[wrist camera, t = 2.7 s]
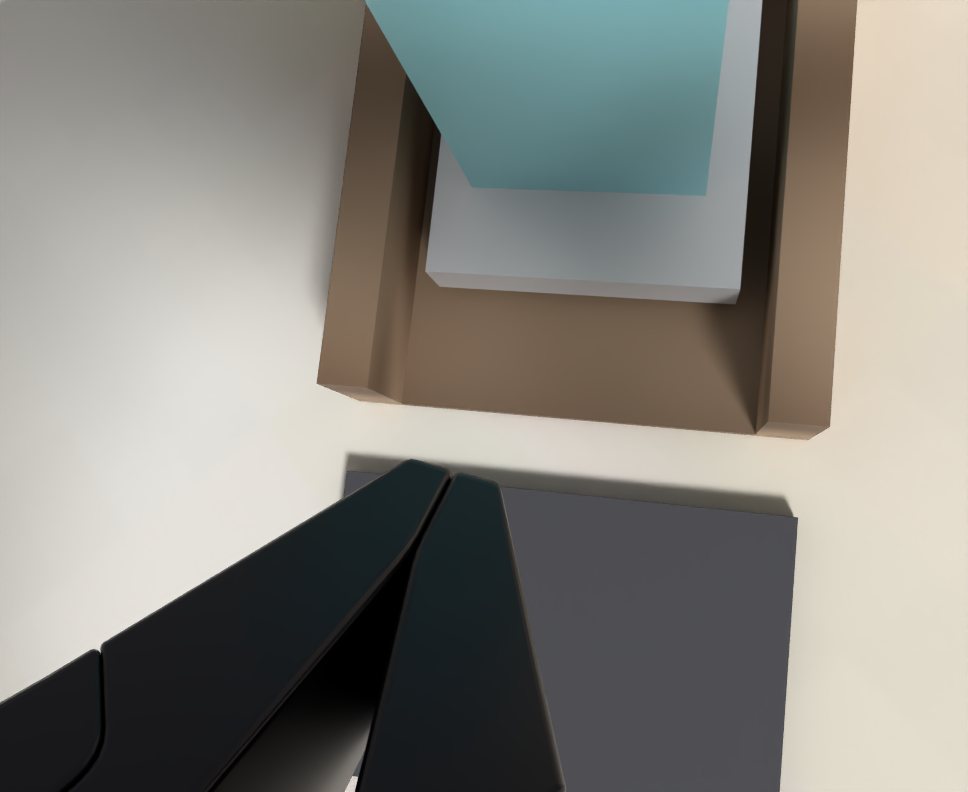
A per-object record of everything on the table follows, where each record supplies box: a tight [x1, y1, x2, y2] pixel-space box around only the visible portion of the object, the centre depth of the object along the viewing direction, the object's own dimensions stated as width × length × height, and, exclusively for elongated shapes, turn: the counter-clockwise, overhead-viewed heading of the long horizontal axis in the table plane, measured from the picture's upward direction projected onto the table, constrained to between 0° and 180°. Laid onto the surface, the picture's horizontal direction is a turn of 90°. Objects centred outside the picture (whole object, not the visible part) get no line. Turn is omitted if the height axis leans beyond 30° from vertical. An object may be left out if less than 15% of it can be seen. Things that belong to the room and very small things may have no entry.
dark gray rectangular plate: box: [344, 471, 798, 792], centre depth 18 cm, size 6×9×1 cm, turn 84°
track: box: [317, 0, 857, 440], centre depth 18 cm, size 11×9×2 cm
